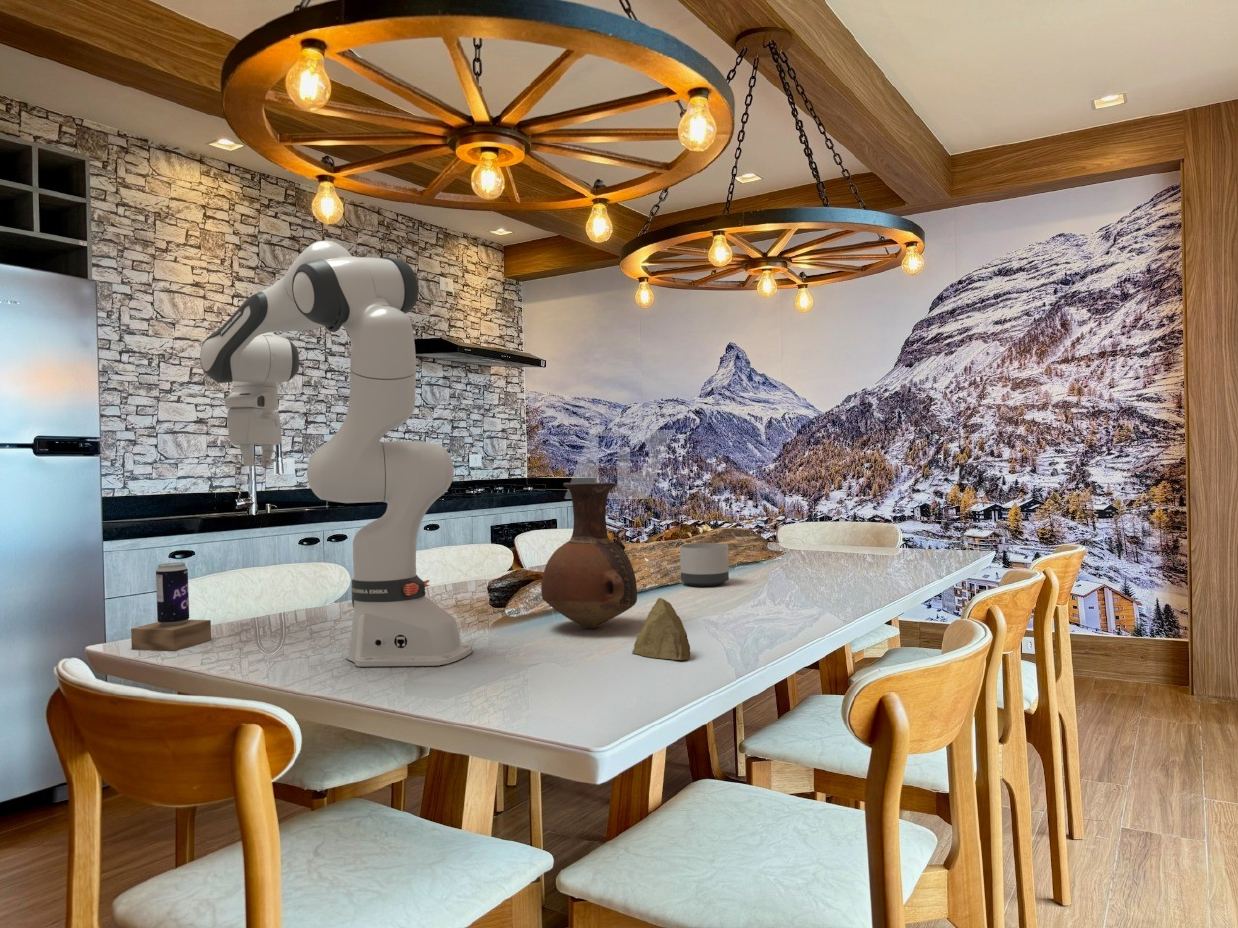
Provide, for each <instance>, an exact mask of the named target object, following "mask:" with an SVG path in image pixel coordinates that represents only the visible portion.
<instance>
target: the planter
mask: <svg viewBox="0 0 1238 928" xmlns="http://www.w3.org/2000/svg"><path fill="white" fill-rule="evenodd" d="M679 558H680V559H679V560H680V561H679V563H680V581H681V582H683V583H685V584H687V585H689V586H692V587H696V588H697V587H700V588H701V587H702V588H706V587H707V588H708V587H709V588H710V587H711V588H712V587H717V586H720V585H722V584H724V583H726V582H728V581H729V579H730V577H729V572H730V571H729V545H728V544H726V543H718V542H702V543H701V542H698V543H695V542H694V543H685V544H681V545H680V546H679Z"/></svg>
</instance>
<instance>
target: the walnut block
mask: <svg viewBox="0 0 1238 928" xmlns="http://www.w3.org/2000/svg"><path fill="white" fill-rule="evenodd" d="M130 635H131V641H130V642H131V650H141V651H143V650H144V651H169V652H171V651H173V652H175V651H179V650H182V649H185V648H188V647H189V648H190V647H192V646H195V645H198V644H202V643H204V642H205V643H206V642H208V641H211V640H212V621H211V620H210V619H188V620H187V621H186V622H185V623H184V624H180V625H174V626H163V625H162V624H161V623H159V622H158V621H157V622H154V623H153V622H152V623H148V624H145V625H141V626H137V627H133V628H130Z"/></svg>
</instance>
